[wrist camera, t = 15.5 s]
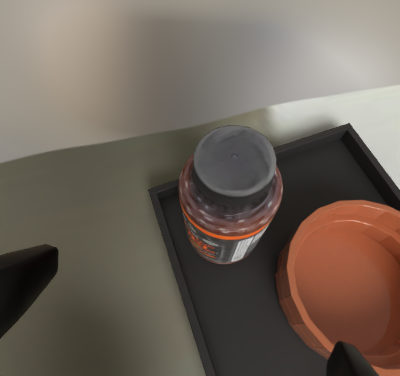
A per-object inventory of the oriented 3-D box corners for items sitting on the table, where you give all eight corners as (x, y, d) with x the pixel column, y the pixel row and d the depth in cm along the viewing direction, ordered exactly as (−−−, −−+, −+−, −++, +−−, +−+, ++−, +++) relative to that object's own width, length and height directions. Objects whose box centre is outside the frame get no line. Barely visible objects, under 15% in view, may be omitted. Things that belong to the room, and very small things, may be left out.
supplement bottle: (171, 229, 24) (144, 155, 14) (221, 184, 26) (230, 88, 15) (224, 283, 22) (238, 243, 12) (274, 230, 24) (324, 155, 13)
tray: (497, 349, 20) (521, 351, 18) (238, 473, 17) (241, 487, 16) (341, 133, 28) (349, 122, 26) (151, 197, 25) (147, 188, 24)
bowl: (455, 333, 20) (508, 334, 17) (319, 395, 19) (346, 411, 15) (366, 202, 25) (393, 180, 21) (252, 244, 23) (259, 229, 20)
